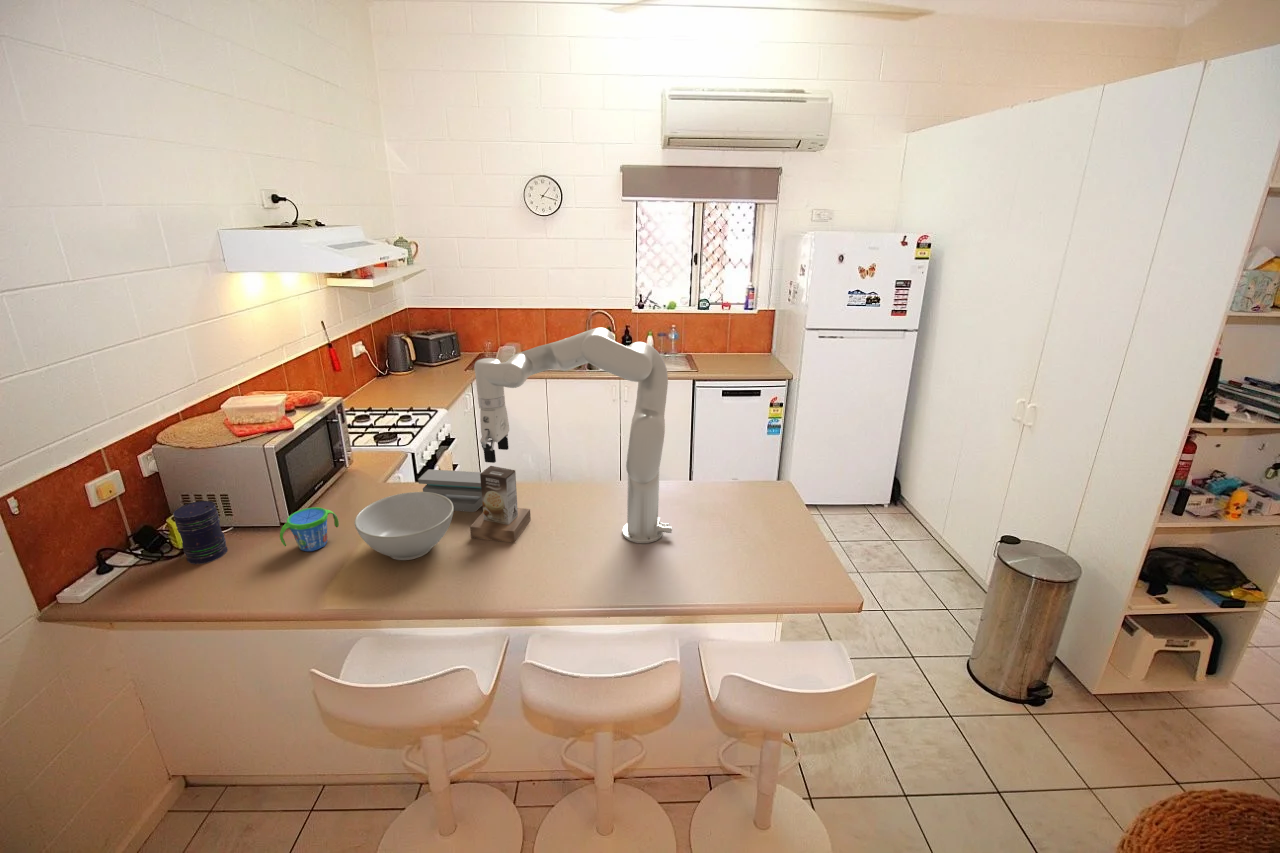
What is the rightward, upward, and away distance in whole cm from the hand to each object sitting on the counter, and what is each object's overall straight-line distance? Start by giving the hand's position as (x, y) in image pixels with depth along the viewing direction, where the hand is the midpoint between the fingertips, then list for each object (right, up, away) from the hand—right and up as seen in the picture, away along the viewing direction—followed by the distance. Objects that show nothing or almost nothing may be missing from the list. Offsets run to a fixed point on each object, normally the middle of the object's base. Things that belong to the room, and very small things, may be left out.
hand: (497, 455), depth 178 cm
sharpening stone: (-17, -18, +23) cm, 34 cm away
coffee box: (-1, -20, +7) cm, 21 cm away
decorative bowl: (-25, -28, -2) cm, 37 cm away
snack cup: (-54, -27, -1) cm, 61 cm away
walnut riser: (-1, -24, +9) cm, 25 cm away
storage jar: (-82, -29, -6) cm, 87 cm away
